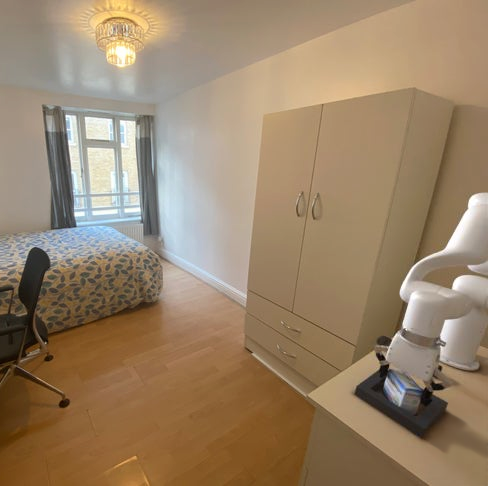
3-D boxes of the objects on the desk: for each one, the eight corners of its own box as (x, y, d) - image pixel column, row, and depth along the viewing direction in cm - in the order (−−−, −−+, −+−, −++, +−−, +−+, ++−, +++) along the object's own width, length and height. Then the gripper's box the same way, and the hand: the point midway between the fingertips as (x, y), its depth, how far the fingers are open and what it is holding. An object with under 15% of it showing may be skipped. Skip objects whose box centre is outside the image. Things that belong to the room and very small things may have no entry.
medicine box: (381, 391, 85) (388, 367, 82) (397, 392, 84) (404, 369, 81) (398, 413, 77) (406, 388, 75) (416, 415, 76) (424, 390, 74)
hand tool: (441, 375, 91) (445, 363, 89) (434, 378, 89) (438, 367, 88) (380, 342, 108) (383, 331, 106) (373, 344, 106) (376, 334, 105)
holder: (380, 375, 91) (382, 367, 90) (445, 411, 78) (448, 402, 77) (354, 394, 83) (356, 385, 83) (421, 438, 70) (424, 429, 69)
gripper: (468, 349, 69) (448, 403, 73) (387, 316, 83) (374, 364, 88) (458, 359, 65) (437, 415, 70) (375, 323, 79) (362, 372, 84)
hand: (402, 387), depth 79 cm, fingers open, 9 cm apart
